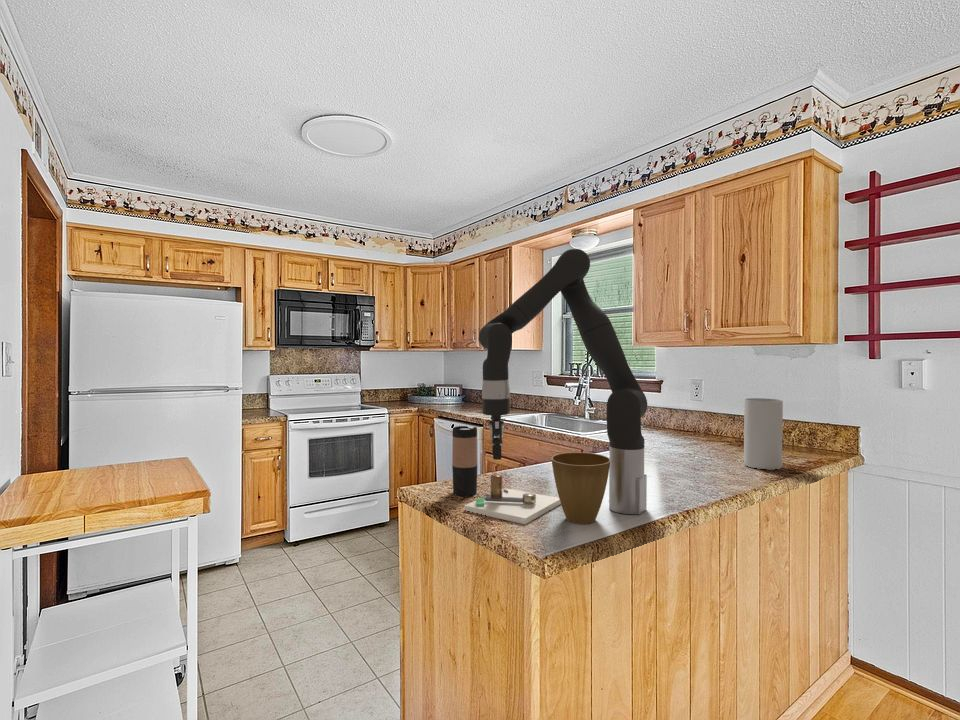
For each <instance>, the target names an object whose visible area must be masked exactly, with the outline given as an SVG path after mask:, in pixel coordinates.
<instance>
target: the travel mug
mask: <svg viewBox="0 0 960 720" xmlns="http://www.w3.org/2000/svg"><path fill="white" fill-rule="evenodd" d="M451 453H452V459H451V460H452V466H451V467H452V468H451V469H452V492H453V495H454V494H456V495H455V496H457V495H461V496H460V497H472V496H471V495H473V496H476V495H477V492H478V491H477V489H478V428H477V427H476V426H474V427H472V428H471V427H469V426H467V425H461V426H460V425H459V426H454V427H452V452H451Z"/></svg>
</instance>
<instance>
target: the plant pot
mask: <svg viewBox="0 0 960 720" xmlns="http://www.w3.org/2000/svg"><path fill="white" fill-rule="evenodd" d="M550 460H551V465H552V472H553V478H554V483H555V487H556V491H557V496H558V498H559V499H560V502H561V504H560V505H561V508H562V512H563V514H564V516H565V519H566V520H567V521H568V522H570V523H573V524H576V523H578V524H577V525H587V524H586V523H590V524H592V522H593V523H594V522H595V521H596V519H597V518H598V517H597V516H598V515H599V512H600V509H601V506H602V503H603V500H604V496H605V494H606V493H605V492H606V488H607V485H608V481H609V468H610V459H609V457H607V456H605V455H603V454H599V453H593V452H583V451H581V452H579V451H577V452H576V451H575V452H574V451H573V452H571V451H570V452H563V453H557V454H554V455H552V456H551V459H550Z"/></svg>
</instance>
